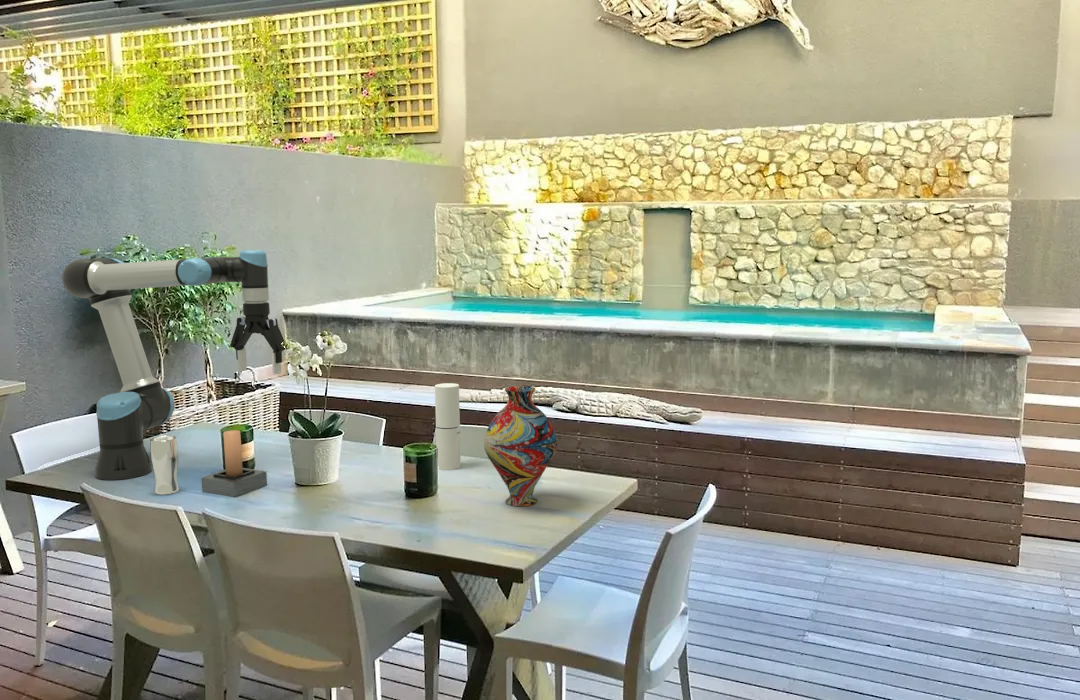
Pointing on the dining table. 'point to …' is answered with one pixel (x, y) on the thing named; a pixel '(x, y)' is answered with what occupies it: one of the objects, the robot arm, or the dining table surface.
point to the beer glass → (165, 463)
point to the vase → (520, 444)
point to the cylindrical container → (448, 426)
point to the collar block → (234, 482)
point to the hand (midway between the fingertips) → (259, 372)
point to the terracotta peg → (233, 453)
